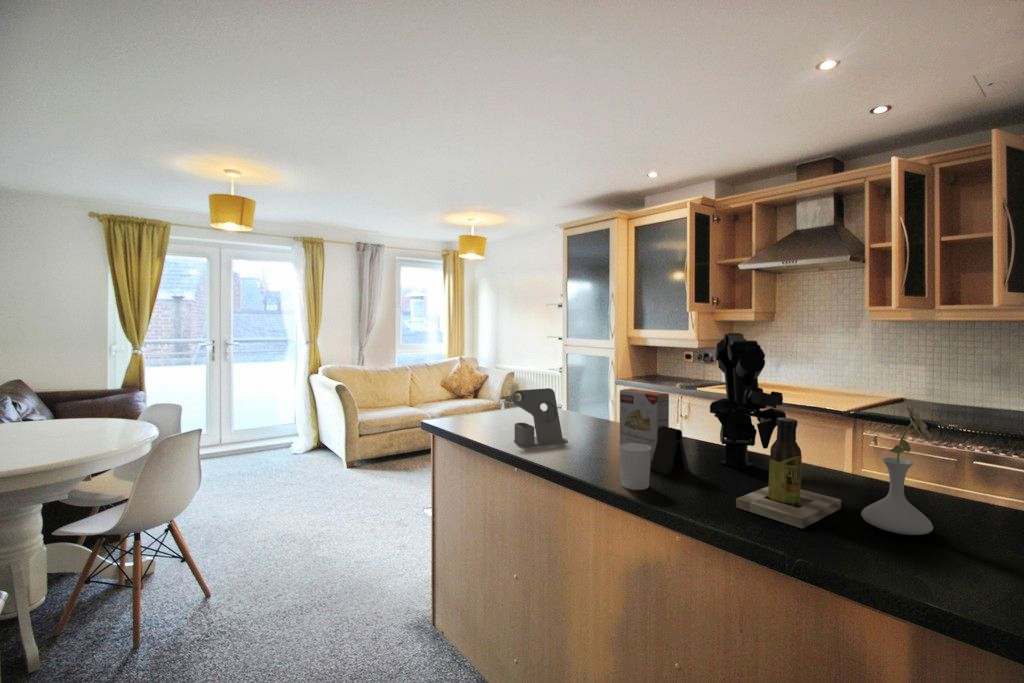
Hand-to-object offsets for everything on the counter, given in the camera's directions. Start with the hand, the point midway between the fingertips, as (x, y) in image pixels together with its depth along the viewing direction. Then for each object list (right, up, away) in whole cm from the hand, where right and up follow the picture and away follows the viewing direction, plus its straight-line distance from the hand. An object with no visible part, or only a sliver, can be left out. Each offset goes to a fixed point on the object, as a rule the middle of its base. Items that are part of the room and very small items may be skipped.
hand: (749, 445), depth 122 cm
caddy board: (+2, -11, -13) cm, 17 cm away
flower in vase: (+19, -12, -23) cm, 32 cm away
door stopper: (-15, -10, +15) cm, 24 cm away
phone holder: (-49, -9, +49) cm, 70 cm away
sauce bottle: (+2, -11, -12) cm, 17 cm away
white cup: (-28, -11, +3) cm, 30 cm away
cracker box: (-20, -10, +26) cm, 34 cm away
